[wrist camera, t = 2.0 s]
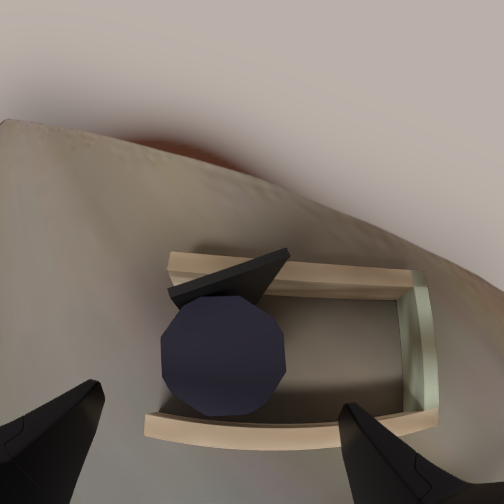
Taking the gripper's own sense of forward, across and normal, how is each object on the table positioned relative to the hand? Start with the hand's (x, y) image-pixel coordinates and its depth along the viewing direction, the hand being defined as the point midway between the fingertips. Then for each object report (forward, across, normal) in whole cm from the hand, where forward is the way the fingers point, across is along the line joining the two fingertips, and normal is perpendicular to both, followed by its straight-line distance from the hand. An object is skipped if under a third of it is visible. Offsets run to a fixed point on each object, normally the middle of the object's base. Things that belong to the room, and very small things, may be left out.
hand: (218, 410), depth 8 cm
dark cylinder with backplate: (+10, 0, +5) cm, 11 cm away
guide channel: (+10, -5, +5) cm, 12 cm away
